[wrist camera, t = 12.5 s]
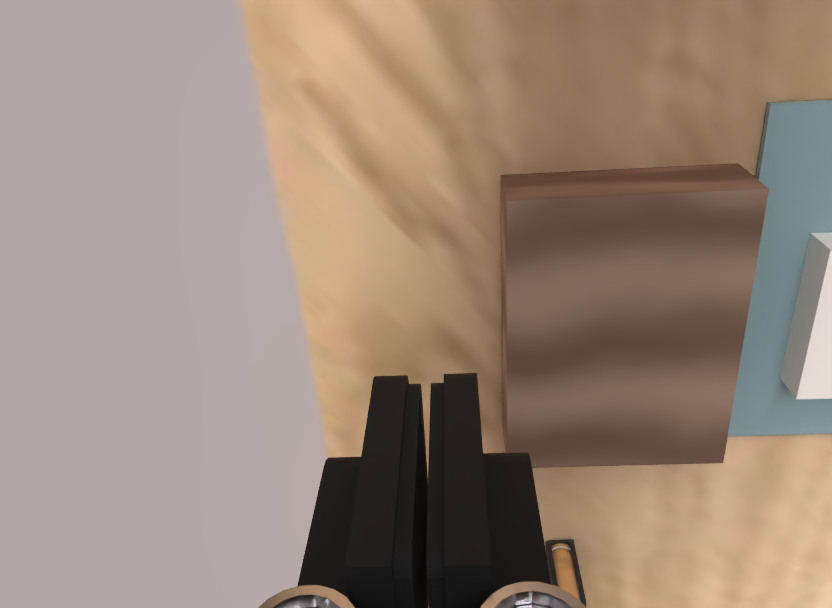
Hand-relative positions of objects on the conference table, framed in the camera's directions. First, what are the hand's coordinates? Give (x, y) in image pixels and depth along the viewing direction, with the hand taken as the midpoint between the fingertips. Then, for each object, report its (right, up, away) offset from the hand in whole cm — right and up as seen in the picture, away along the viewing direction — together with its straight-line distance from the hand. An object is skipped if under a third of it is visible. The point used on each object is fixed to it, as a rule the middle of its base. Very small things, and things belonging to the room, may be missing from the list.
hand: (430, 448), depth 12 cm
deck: (+11, +2, +29) cm, 31 cm away
